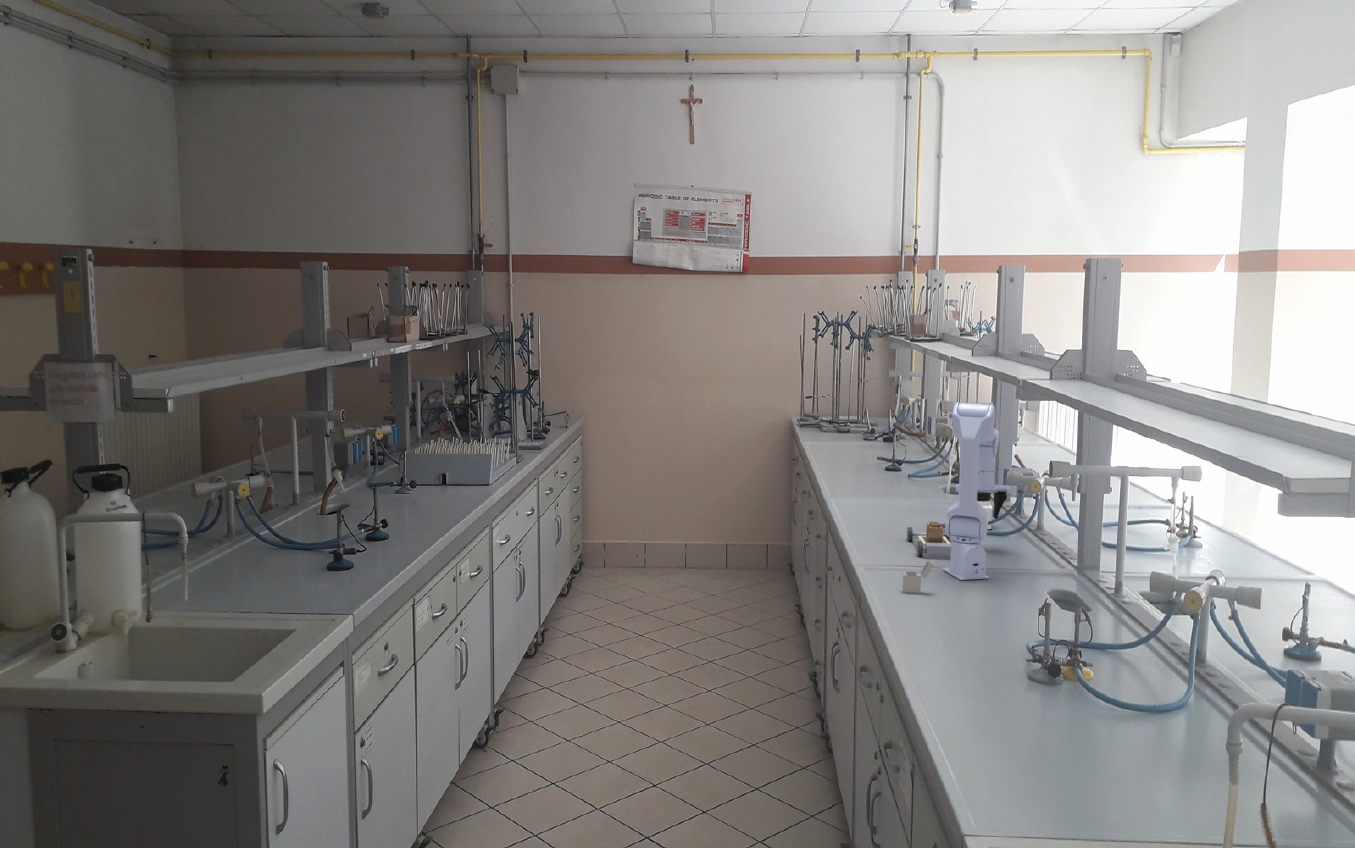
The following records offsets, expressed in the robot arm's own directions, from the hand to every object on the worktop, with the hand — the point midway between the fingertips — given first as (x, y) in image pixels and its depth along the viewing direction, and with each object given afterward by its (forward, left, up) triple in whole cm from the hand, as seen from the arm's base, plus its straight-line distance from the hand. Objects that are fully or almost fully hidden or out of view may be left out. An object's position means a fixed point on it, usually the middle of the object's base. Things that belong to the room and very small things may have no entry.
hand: (981, 517), depth 270 cm
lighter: (-32, +35, -10) cm, 48 cm away
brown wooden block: (+4, +12, -8) cm, 15 cm away
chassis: (+4, +12, -9) cm, 16 cm away
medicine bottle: (+25, -14, -10) cm, 30 cm away
